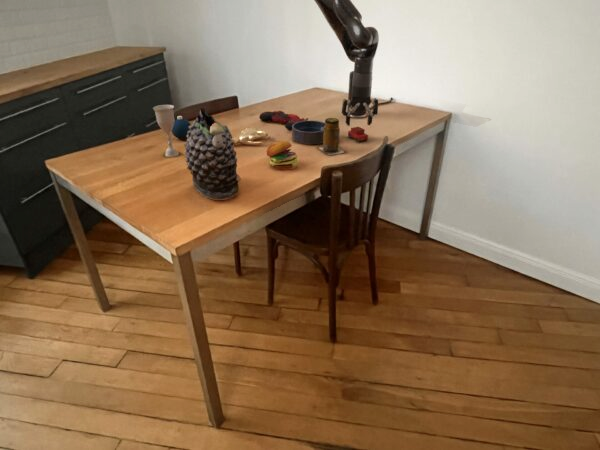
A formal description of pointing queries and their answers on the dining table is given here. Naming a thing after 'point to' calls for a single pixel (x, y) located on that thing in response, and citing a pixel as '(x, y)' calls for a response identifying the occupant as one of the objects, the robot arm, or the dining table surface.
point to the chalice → (166, 125)
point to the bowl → (308, 132)
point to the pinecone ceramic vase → (211, 158)
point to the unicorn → (250, 136)
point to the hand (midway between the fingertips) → (358, 125)
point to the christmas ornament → (181, 128)
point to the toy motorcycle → (281, 118)
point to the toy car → (357, 134)
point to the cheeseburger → (282, 155)
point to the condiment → (331, 137)
